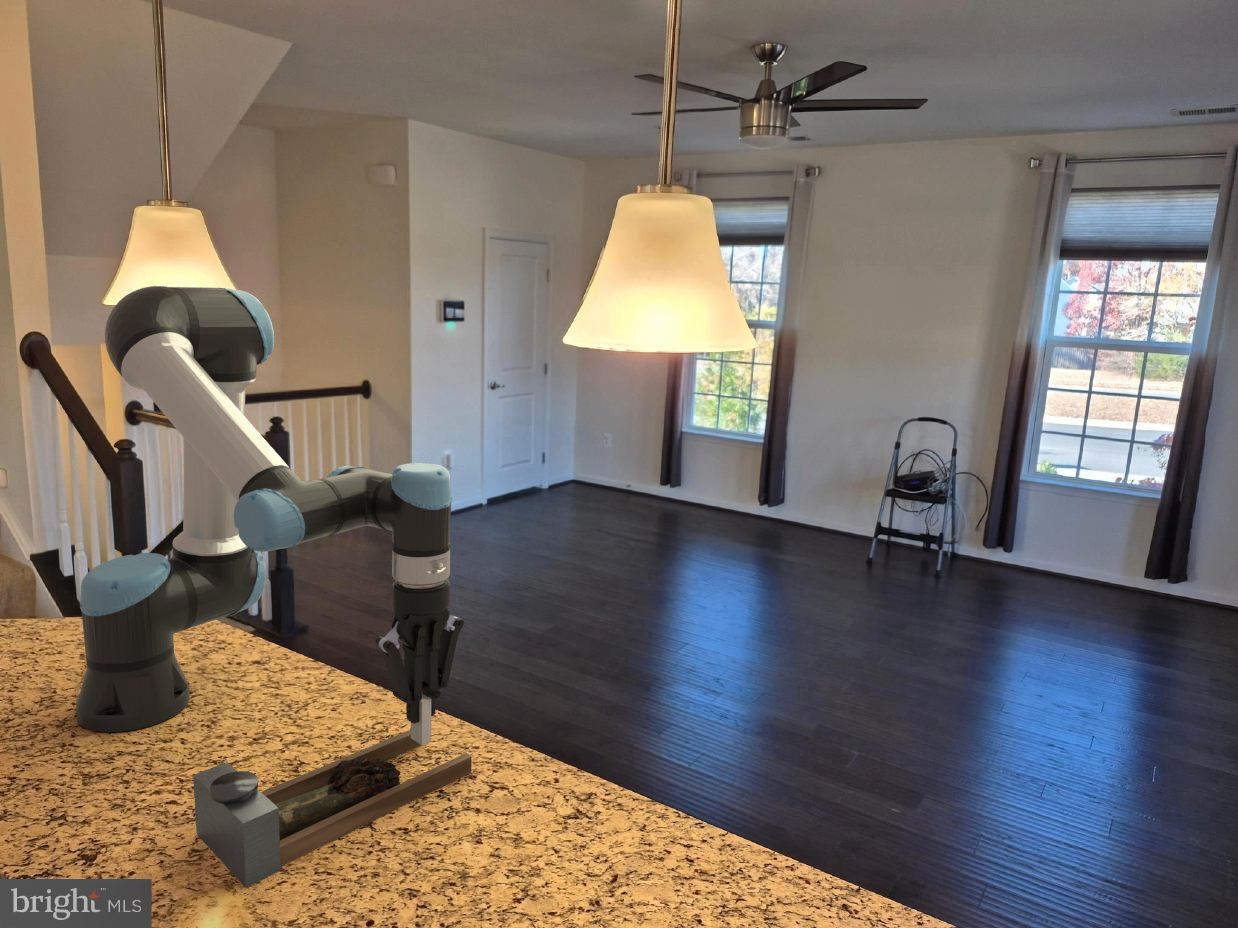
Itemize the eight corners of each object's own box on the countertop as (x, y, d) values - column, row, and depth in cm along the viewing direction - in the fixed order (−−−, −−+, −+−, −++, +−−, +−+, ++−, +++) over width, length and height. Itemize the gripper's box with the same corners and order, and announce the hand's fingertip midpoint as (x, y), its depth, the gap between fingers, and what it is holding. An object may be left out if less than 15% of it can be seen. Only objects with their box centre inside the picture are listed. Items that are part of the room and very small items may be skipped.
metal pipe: (268, 857, 98) (266, 814, 96) (249, 829, 102) (247, 788, 101) (406, 801, 109) (405, 762, 108) (383, 778, 114) (382, 741, 113)
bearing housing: (192, 836, 100) (188, 768, 98) (234, 818, 104) (230, 752, 102) (241, 889, 92) (238, 817, 90) (284, 868, 95) (282, 797, 94)
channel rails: (232, 822, 103) (231, 804, 102) (421, 740, 124) (421, 724, 123) (278, 867, 95) (277, 848, 95) (471, 772, 116) (471, 756, 116)
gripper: (395, 598, 104) (395, 768, 109) (477, 576, 114) (474, 733, 118) (362, 582, 109) (364, 746, 114) (444, 562, 118) (442, 714, 123)
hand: (420, 739), depth 116 cm, fingers closed
